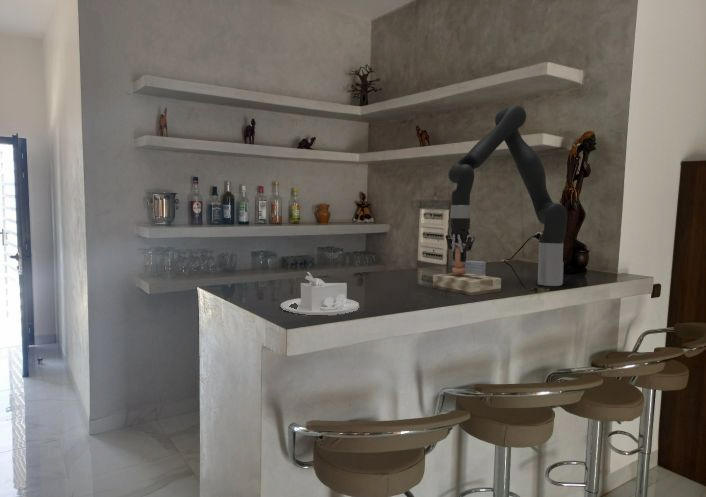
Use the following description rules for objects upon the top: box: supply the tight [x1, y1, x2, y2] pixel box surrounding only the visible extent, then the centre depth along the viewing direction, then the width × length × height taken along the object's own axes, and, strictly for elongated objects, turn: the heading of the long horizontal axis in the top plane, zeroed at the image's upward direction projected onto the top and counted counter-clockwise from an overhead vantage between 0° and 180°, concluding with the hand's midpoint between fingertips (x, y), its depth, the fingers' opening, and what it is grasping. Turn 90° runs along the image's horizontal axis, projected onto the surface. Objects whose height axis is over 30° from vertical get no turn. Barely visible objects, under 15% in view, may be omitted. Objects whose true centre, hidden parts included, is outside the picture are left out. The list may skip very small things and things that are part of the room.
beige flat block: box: [432, 272, 502, 297], centre depth 197 cm, size 20×16×5 cm
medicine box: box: [464, 260, 487, 276], centre depth 217 cm, size 8×4×9 cm, turn 65°
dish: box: [280, 271, 360, 316], centre depth 162 cm, size 25×25×11 cm
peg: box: [451, 246, 466, 274], centre depth 199 cm, size 5×5×10 cm
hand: (459, 261), depth 199 cm, fingers closed on peg, 3 cm apart
